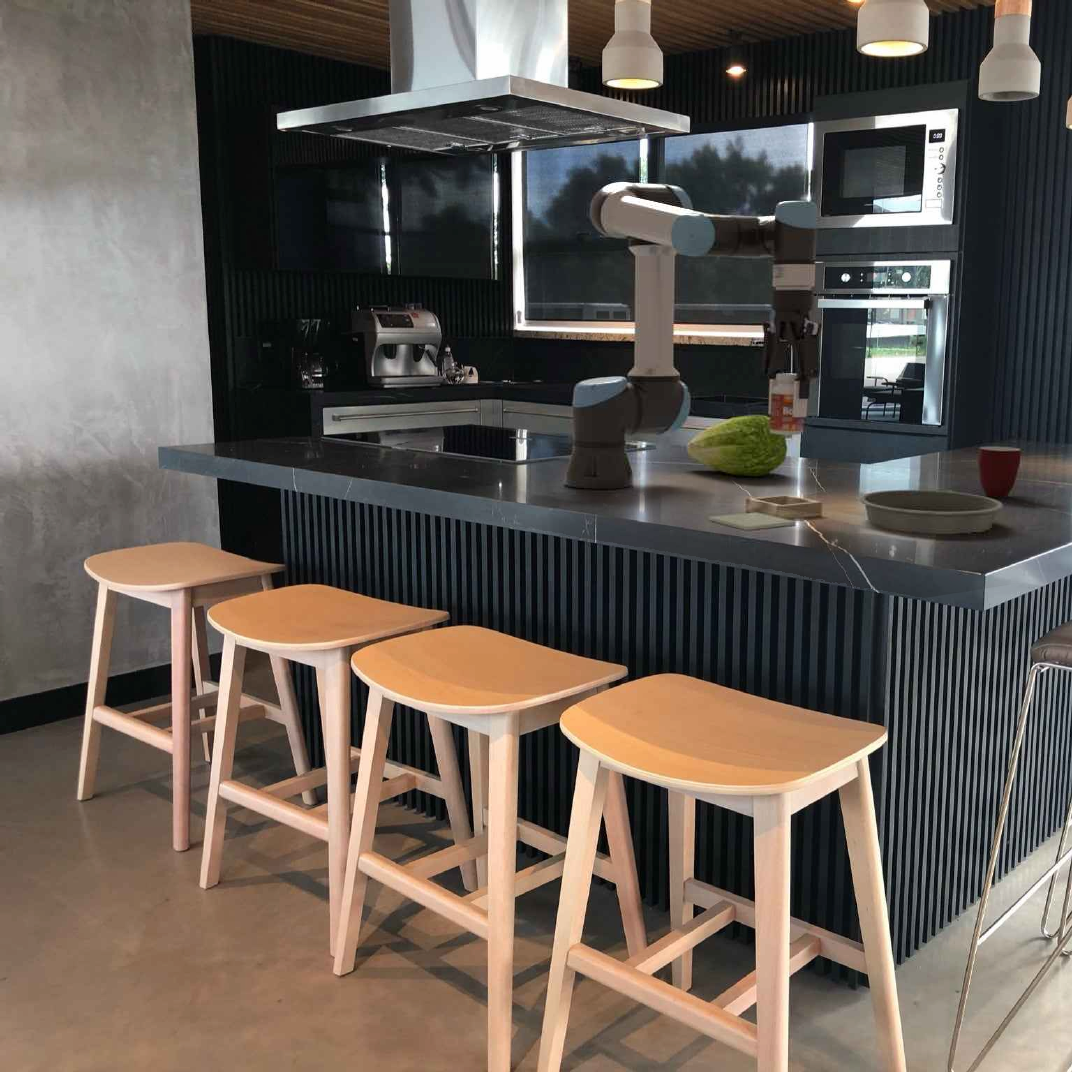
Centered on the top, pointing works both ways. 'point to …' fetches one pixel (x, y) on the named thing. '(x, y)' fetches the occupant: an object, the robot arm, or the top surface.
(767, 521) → the coaster
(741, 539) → the top surface
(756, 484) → the top surface
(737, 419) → the lettuce
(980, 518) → the cake pan
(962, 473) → the top surface
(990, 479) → the mug
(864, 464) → the top surface
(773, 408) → the pill bottle
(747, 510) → the pocket frame
